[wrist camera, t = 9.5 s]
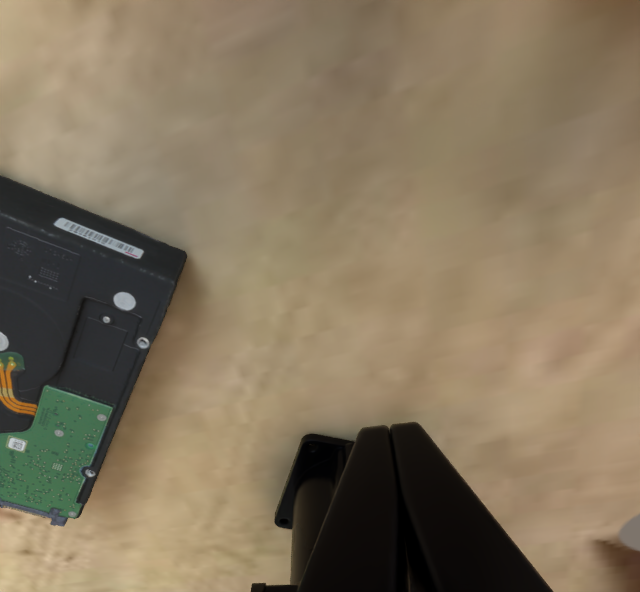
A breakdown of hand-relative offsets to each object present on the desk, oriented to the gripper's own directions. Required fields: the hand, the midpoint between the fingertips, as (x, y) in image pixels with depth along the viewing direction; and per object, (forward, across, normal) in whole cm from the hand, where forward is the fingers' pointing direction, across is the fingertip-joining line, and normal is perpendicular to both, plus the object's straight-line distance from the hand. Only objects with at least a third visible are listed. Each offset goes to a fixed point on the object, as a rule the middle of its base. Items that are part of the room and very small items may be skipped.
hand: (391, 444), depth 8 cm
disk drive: (+13, +14, +6) cm, 20 cm away
